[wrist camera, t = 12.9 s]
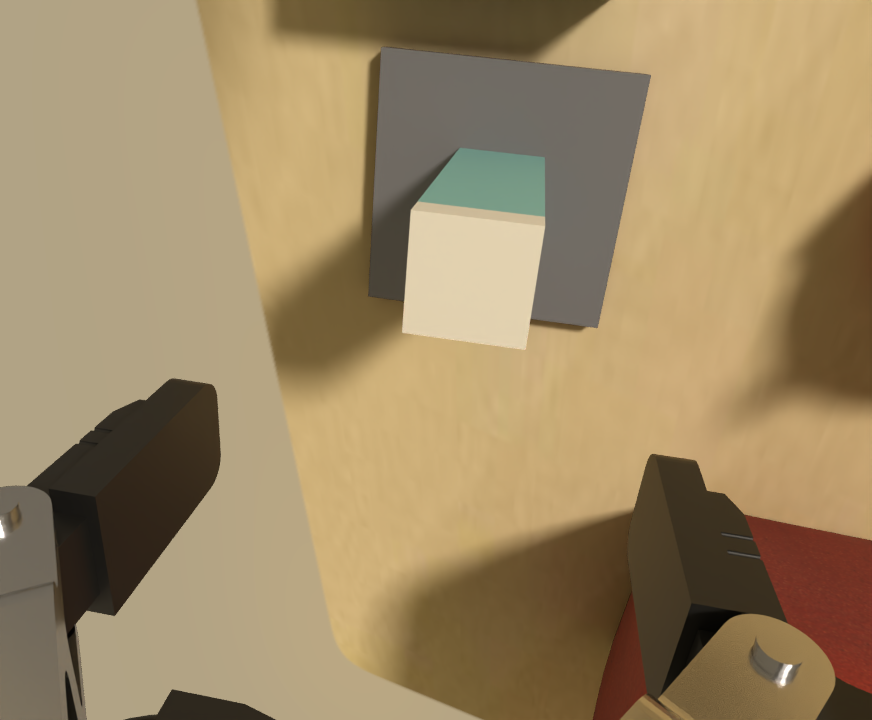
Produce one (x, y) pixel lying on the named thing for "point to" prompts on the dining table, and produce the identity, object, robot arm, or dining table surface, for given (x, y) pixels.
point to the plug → (476, 249)
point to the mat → (517, 134)
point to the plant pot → (801, 603)
